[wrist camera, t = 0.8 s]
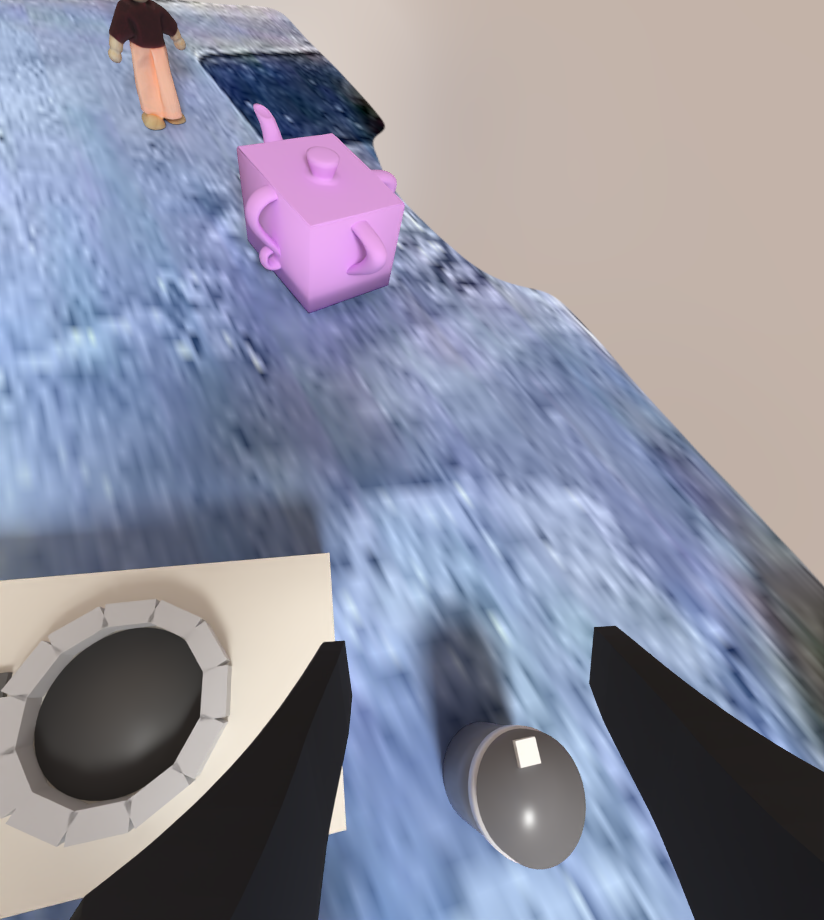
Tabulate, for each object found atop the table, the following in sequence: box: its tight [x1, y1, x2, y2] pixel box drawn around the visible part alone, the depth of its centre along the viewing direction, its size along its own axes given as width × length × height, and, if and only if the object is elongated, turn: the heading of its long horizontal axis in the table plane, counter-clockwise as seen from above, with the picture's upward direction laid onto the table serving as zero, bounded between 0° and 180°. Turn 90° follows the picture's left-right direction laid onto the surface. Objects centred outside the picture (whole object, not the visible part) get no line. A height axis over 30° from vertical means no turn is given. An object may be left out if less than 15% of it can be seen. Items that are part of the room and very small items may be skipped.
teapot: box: [237, 104, 405, 313], centre depth 36 cm, size 18×14×10 cm
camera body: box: [0, 553, 346, 919], centre depth 19 cm, size 12×18×5 cm, turn 98°
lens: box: [443, 722, 586, 869], centre depth 21 cm, size 5×5×6 cm
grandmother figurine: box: [108, 0, 186, 130], centre depth 40 cm, size 8×4×13 cm, turn 152°
